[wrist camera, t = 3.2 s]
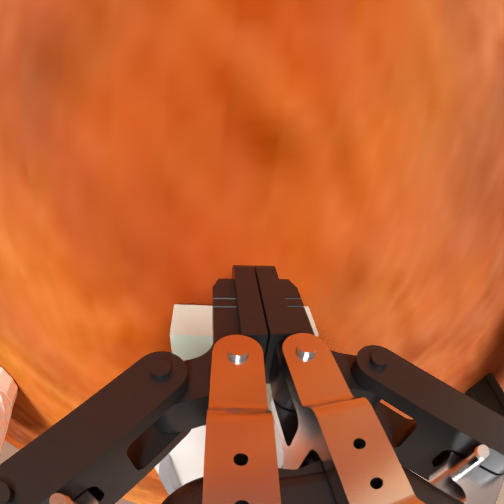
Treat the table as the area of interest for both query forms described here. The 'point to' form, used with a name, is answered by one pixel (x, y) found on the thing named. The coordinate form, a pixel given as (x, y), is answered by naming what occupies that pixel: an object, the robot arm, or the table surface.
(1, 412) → the white cup
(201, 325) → the grey rectangular block
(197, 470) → the loading dock
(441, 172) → the table surface
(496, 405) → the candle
